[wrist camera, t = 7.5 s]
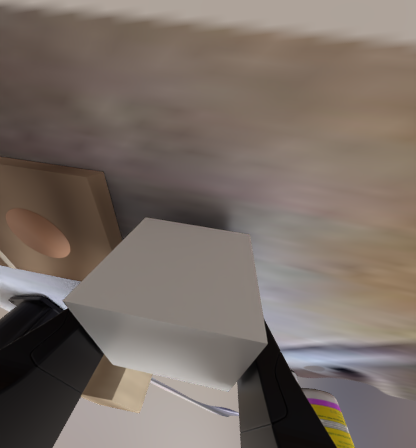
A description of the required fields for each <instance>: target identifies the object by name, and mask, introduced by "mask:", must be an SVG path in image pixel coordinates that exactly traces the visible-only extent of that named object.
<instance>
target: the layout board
mask: <svg viewBox="0 0 416 448" xmlns="http://www.w3.org/2000/svg"><path fill="white" fill-rule="evenodd" d="M121 242H122V237H121V234H120V230H119V226H118V223H117V219H116V215H115V212H114V208H113V204H112V201H111V197H110V194H109V190H108V186H107V183H106V179H105V175H104V172H100V171H94V170H87V169H80V168H74V167H67V166H60V165H54V164H47V163H40V162H33V161H27V160H20V159H13V158H7V157H0V265H2V266H6V267H10V268H14V269H21V270H26V271H31V272H36V273H41V274H46V275H51V276H56V277H61V278H66V279H71V280H76V281H81V282H82V281H83V280H84V279H85V278H86V277H87V276H88V275H89V274H90V273H91V272H92V271H93V270H94V269H95V268H96V267H97V266H98V265H99V264H100V263H101V262H102V261H103V260H104V259H105V258H106V257H107V256H108V255H109V254H110V253H111V252H112V251H113V250H114V249H115V248H116V247H117V246H118V245H119V244H120V243H121Z"/></svg>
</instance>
